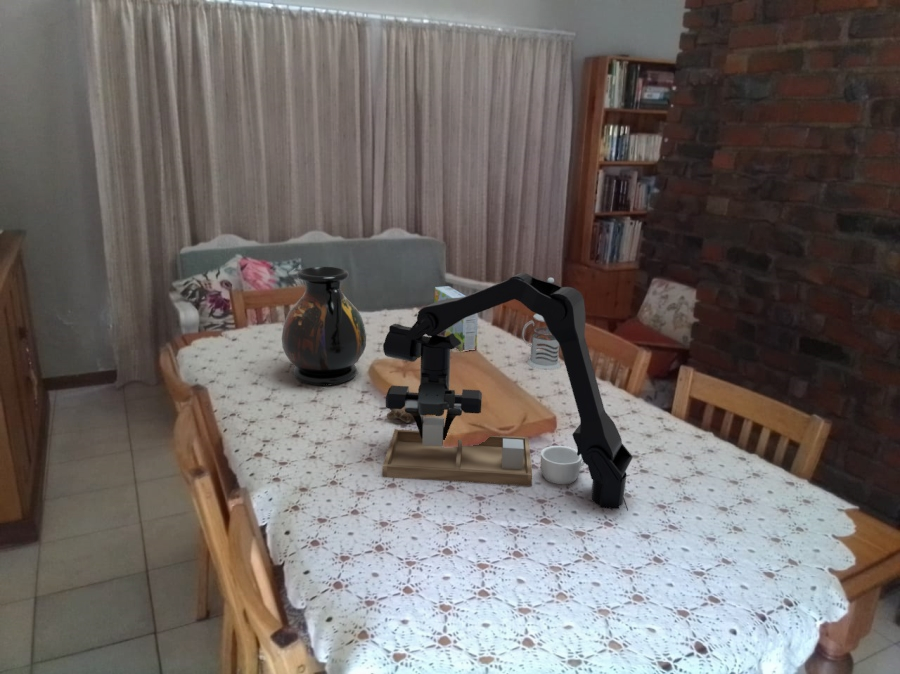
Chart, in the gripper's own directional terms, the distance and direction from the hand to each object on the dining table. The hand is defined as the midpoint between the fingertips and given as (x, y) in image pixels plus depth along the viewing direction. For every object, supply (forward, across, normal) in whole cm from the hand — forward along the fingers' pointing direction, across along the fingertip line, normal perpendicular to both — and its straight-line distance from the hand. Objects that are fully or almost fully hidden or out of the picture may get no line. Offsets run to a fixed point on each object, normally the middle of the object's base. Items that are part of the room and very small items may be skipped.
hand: (433, 438), depth 138 cm
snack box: (+4, 0, +76) cm, 76 cm away
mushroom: (+4, -8, +16) cm, 18 cm away
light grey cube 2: (+3, +16, -3) cm, 16 cm away
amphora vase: (+4, -32, +41) cm, 52 cm away
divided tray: (+4, +5, -3) cm, 7 cm away
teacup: (+4, +26, -6) cm, 27 cm away
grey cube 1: (+1, 0, 0) cm, 1 cm away
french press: (+4, +26, +60) cm, 65 cm away
